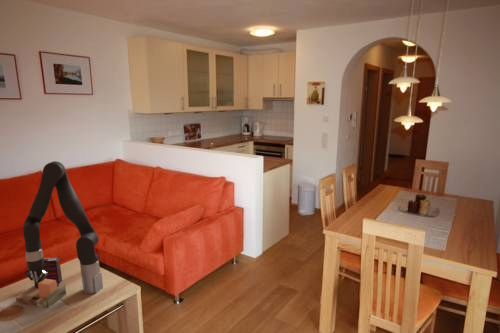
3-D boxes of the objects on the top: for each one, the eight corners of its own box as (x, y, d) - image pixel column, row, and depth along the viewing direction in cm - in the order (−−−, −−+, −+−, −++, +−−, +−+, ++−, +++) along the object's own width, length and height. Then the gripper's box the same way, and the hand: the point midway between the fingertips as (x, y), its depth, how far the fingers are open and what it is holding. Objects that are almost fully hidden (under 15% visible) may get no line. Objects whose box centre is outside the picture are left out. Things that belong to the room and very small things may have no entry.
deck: (66, 294, 177) (65, 284, 176) (48, 307, 166) (47, 297, 164) (35, 289, 181) (34, 280, 180) (16, 302, 170) (14, 292, 168)
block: (57, 293, 172) (56, 280, 171) (51, 298, 168) (49, 284, 167) (46, 292, 174) (44, 278, 172) (39, 296, 170) (37, 283, 168)
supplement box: (62, 281, 190) (59, 256, 187) (59, 285, 185) (55, 260, 182) (46, 282, 189) (43, 257, 185) (43, 287, 184) (39, 261, 181)
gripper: (51, 255, 171) (54, 285, 174) (30, 252, 174) (33, 282, 177) (39, 262, 164) (43, 293, 167) (17, 259, 166) (21, 289, 170)
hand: (38, 287), depth 172 cm, fingers closed
